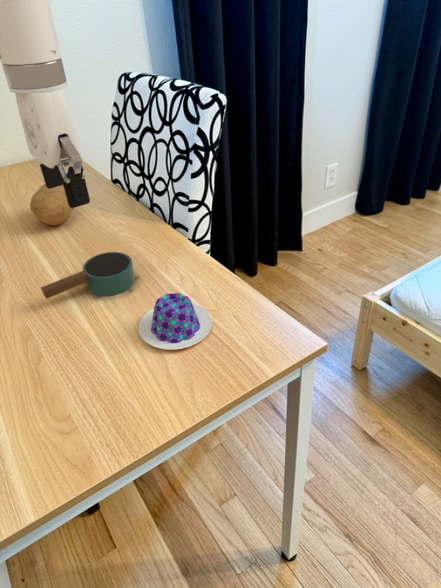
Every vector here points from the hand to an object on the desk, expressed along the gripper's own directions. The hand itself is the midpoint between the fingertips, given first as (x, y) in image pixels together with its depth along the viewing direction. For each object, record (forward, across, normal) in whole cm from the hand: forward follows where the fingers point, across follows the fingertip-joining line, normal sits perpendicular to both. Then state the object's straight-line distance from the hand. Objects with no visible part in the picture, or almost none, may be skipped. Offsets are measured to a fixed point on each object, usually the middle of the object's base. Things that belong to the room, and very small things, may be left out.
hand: (67, 195), depth 68 cm
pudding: (+20, +18, +6) cm, 27 cm away
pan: (+19, -1, 0) cm, 19 cm away
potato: (+19, -33, +5) cm, 38 cm away
